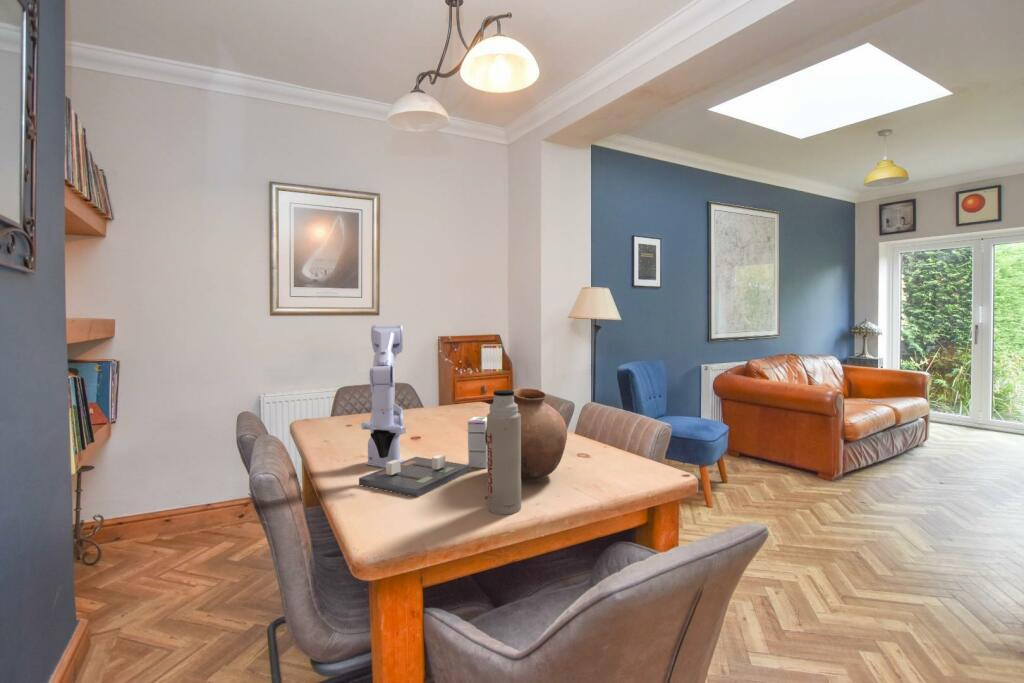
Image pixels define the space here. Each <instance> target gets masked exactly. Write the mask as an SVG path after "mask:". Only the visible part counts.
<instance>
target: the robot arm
mask: <svg viewBox="0 0 1024 683" xmlns="http://www.w3.org/2000/svg"><path fill="white" fill-rule="evenodd" d="M370 341H371V345H372V349H373V353H374V356H373V362H372V367H370V369H369V383H370V384H369V385H370V393H371V407H372V408H371V411H370V412H371V414H370V421H363V422H361V430H369V431H370V436H369V439H368V441H367V462H366V463H365V464H366V465H367V466H374V467H378V468H382V469H384V468H386V463H387V462H390V461H392V460H400V462H403V461H406V459H401V458H400V457H401V455H400V450H401V449H400V448H401V447H400V444H401V443H400V442H401V441H400V435H405V434H406V433H407V432H406V431H407V430H406V428H407V427H406V425H404V424H405V422H404V421H405V420H404V409H403V408H402V407H401V406H399V405H398V404H396V403H395V396H396V395H395V393H396V392H395V388H396V387H395V386H396V385H395V384H396V383H395V382H396V380H395V376H396V360H397V355H398V354H400V353H403V349H404V327H403V325H402V324H372V325H371V328H370Z"/></svg>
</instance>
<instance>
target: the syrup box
mask: <svg viewBox="0 0 1024 683" xmlns="http://www.w3.org/2000/svg"><path fill="white" fill-rule="evenodd" d="M486 428H487V416H473V417H472V418H470V419H469V420H468V421H467V447H468V448H467V449H468V450H467V452H468V465H470V468H472V467H476V469H487V444H486V440H485V433H486Z"/></svg>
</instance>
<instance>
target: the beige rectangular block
mask: <svg viewBox="0 0 1024 683" xmlns="http://www.w3.org/2000/svg"><path fill="white" fill-rule="evenodd" d="M400 460H401V459H400ZM400 460H392V461H390V462H387V463H386V474H389V475H393V474H395V473H398V472H401V468H400Z"/></svg>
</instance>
